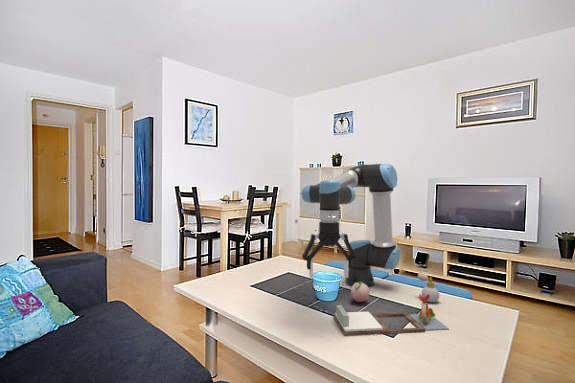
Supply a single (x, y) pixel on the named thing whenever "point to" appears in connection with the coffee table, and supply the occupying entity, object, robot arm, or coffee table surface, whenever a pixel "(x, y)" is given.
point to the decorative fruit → (360, 292)
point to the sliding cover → (356, 320)
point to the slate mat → (429, 323)
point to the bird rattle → (425, 310)
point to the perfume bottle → (429, 288)
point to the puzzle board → (385, 330)
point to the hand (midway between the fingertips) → (328, 277)
